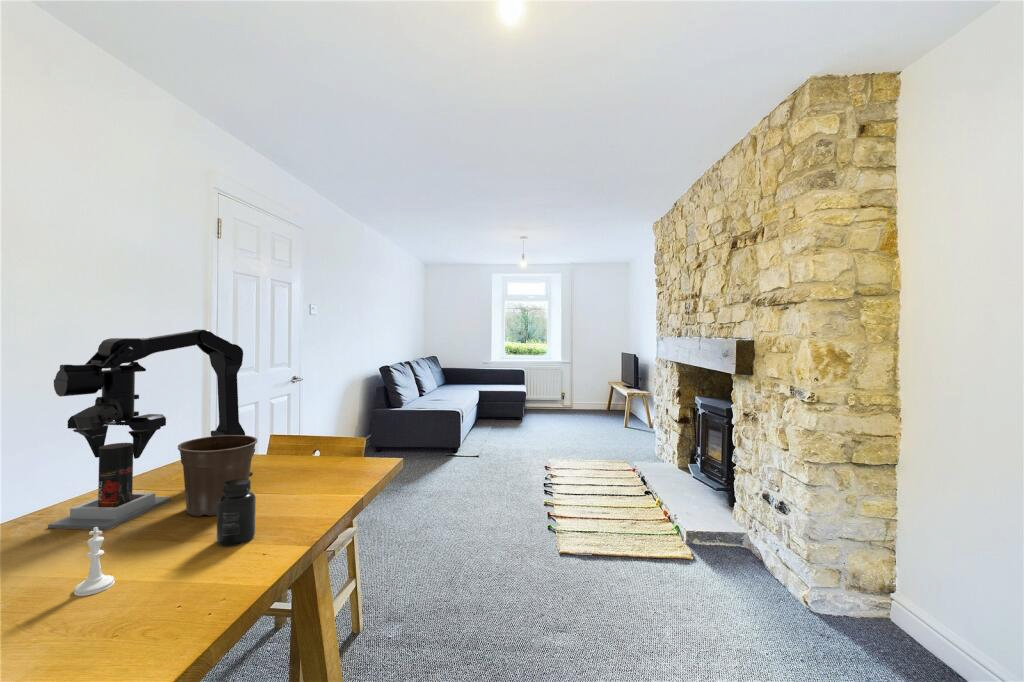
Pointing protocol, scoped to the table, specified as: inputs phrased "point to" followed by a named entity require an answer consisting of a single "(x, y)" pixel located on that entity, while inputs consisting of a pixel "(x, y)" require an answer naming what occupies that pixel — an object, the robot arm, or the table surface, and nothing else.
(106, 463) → the deodorant
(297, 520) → the table surface
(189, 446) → the plant pot
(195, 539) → the table surface
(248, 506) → the supplement bottle
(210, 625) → the table surface
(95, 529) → the chess piece
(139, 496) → the socket board
